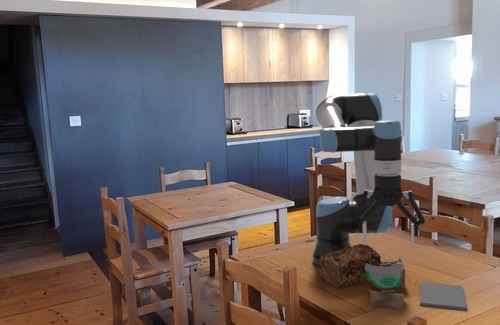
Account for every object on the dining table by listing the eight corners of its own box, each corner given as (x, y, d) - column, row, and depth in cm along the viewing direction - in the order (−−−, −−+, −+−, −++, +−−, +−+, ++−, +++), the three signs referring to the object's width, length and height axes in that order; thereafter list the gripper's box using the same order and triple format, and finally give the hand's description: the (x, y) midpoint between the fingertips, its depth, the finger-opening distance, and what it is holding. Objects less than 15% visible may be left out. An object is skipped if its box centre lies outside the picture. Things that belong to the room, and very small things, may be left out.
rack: (370, 305, 133) (370, 285, 132) (375, 283, 148) (375, 265, 147) (403, 309, 130) (403, 288, 129) (405, 286, 145) (405, 267, 144)
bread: (361, 267, 162) (361, 240, 161) (383, 277, 153) (382, 248, 151) (317, 279, 154) (317, 250, 152) (337, 290, 144) (337, 259, 143)
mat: (420, 305, 131) (420, 302, 131) (420, 284, 145) (420, 282, 145) (466, 310, 127) (466, 307, 127) (462, 288, 141) (462, 285, 141)
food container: (375, 303, 134) (375, 270, 133) (364, 294, 140) (364, 263, 139) (412, 296, 137) (412, 264, 136) (400, 288, 143) (400, 257, 142)
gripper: (342, 175, 134) (343, 246, 137) (434, 176, 126) (434, 251, 128) (346, 171, 141) (347, 239, 144) (433, 172, 133) (433, 243, 135)
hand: (388, 245), depth 136 cm, fingers open, 13 cm apart
